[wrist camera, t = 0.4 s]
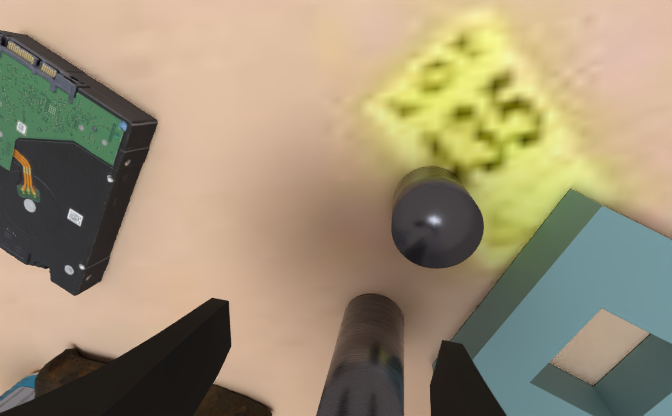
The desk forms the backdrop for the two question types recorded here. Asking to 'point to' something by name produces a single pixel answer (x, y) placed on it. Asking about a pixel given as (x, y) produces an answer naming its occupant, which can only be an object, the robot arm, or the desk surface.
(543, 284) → the hole block
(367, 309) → the tall pin
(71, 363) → the hand tool
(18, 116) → the disk drive
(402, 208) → the short pin
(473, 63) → the desk surface
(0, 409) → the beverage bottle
